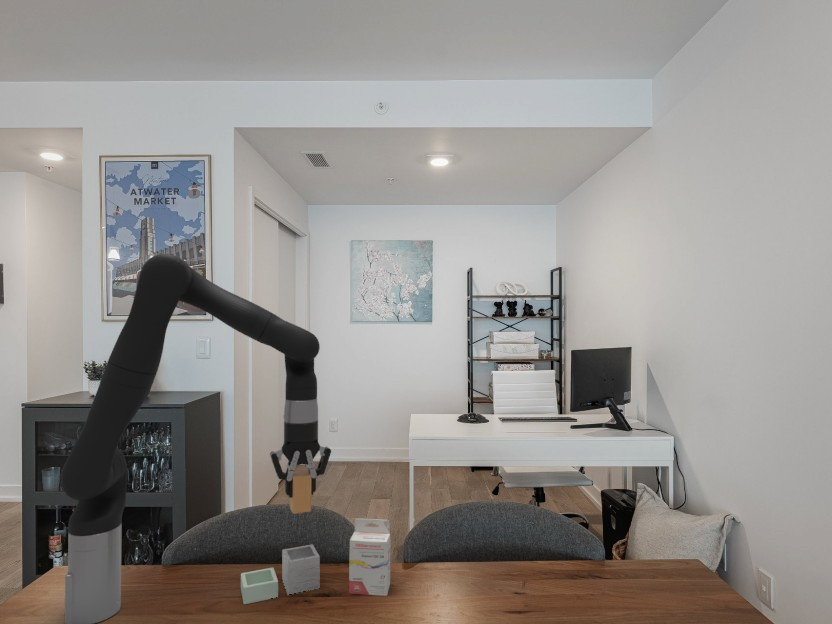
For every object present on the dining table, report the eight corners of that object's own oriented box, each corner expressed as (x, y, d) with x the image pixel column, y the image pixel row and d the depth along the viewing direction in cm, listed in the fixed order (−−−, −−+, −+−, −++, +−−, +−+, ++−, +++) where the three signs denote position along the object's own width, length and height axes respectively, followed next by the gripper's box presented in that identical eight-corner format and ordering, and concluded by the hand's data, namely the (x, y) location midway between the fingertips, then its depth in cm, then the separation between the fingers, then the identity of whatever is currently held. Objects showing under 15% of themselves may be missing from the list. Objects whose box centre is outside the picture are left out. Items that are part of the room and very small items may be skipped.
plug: (293, 513, 114) (293, 477, 114) (289, 508, 118) (290, 472, 118) (311, 511, 116) (311, 475, 116) (307, 505, 119) (307, 470, 120)
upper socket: (287, 595, 112) (287, 562, 112) (282, 580, 118) (282, 549, 118) (319, 588, 115) (319, 556, 115) (312, 574, 121) (312, 544, 121)
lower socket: (243, 604, 108) (243, 588, 108) (240, 589, 115) (240, 573, 115) (278, 597, 111) (278, 581, 111) (273, 582, 117) (273, 567, 117)
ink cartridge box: (348, 594, 112) (348, 525, 112) (353, 583, 117) (353, 517, 117) (387, 596, 111) (387, 527, 111) (391, 585, 116) (390, 518, 116)
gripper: (271, 424, 111) (270, 505, 111) (336, 419, 117) (335, 496, 116) (266, 418, 118) (265, 494, 117) (328, 414, 124) (327, 486, 123)
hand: (300, 494), depth 117 cm, fingers closed on plug, 4 cm apart
